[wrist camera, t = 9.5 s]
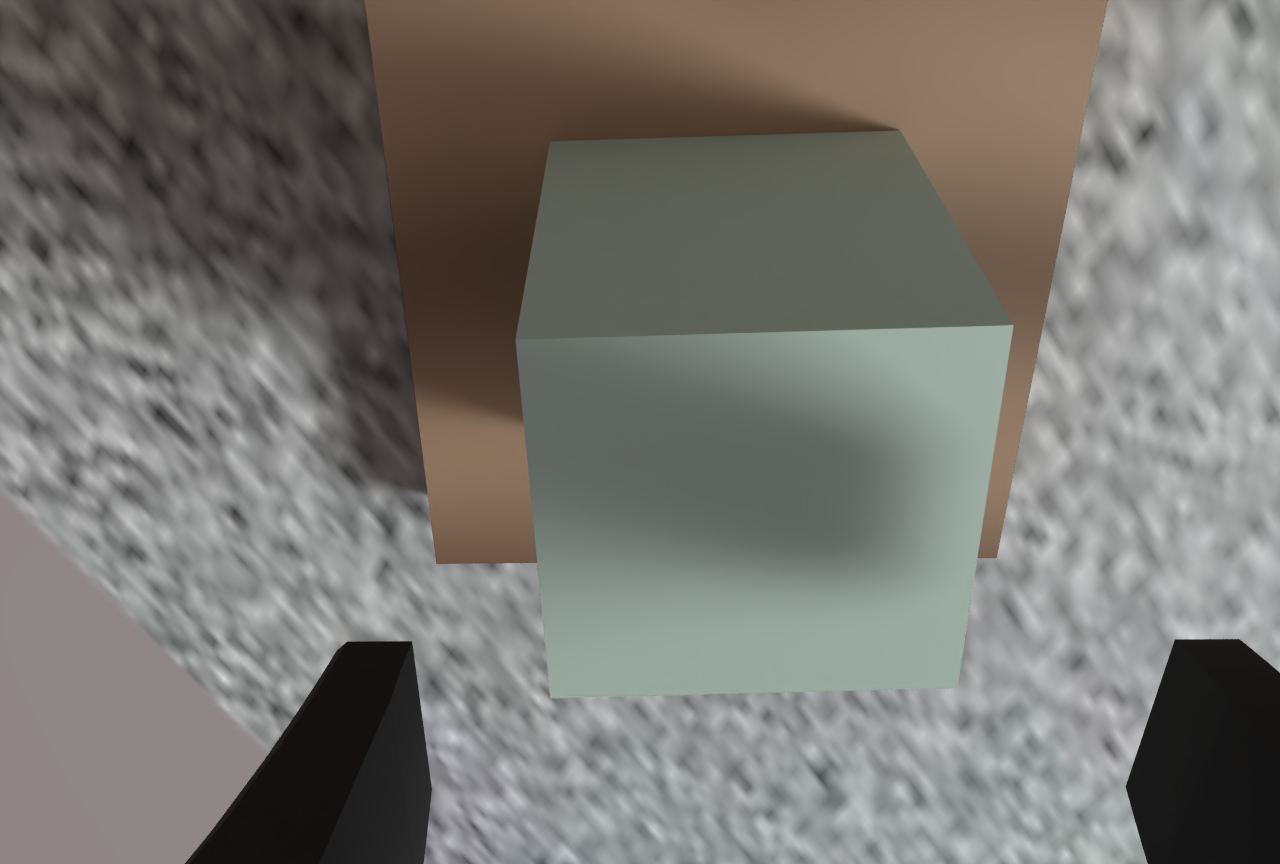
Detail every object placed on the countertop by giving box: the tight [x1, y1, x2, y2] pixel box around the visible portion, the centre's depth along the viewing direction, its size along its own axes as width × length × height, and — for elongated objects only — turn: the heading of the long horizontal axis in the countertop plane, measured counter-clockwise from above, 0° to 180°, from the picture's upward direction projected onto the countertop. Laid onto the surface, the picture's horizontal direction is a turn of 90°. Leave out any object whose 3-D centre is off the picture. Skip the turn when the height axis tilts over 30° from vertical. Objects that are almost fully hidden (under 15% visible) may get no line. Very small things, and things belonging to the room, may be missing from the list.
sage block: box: [516, 130, 1014, 698], centre depth 16 cm, size 5×5×6 cm
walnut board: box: [365, 0, 1108, 564], centre depth 20 cm, size 10×10×2 cm
